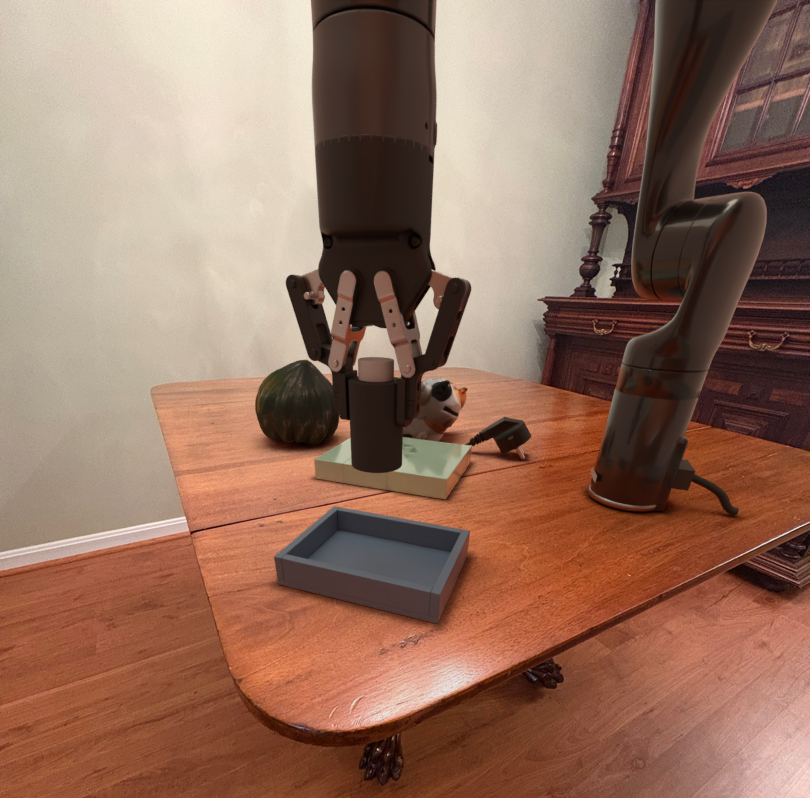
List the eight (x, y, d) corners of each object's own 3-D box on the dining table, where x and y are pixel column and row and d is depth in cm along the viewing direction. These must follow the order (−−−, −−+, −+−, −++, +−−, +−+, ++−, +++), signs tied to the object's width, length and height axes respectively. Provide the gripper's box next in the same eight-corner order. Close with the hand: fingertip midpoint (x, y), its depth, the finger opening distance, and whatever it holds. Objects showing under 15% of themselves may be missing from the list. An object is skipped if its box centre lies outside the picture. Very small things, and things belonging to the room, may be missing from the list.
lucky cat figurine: (416, 424, 91) (452, 365, 84) (449, 459, 86) (490, 400, 79) (364, 413, 80) (400, 345, 73) (398, 453, 75) (440, 383, 68)
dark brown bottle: (408, 460, 38) (412, 358, 34) (391, 476, 35) (392, 364, 30) (364, 453, 39) (361, 354, 35) (342, 468, 36) (337, 360, 32)
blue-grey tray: (467, 556, 45) (470, 530, 43) (437, 624, 35) (440, 594, 34) (335, 529, 49) (333, 505, 48) (277, 584, 40) (273, 556, 38)
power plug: (457, 442, 78) (517, 406, 73) (477, 475, 80) (537, 444, 75) (454, 451, 73) (518, 414, 68) (475, 487, 75) (539, 454, 70)
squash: (252, 401, 82) (249, 342, 69) (328, 400, 88) (339, 346, 74) (261, 465, 78) (260, 417, 65) (341, 461, 84) (355, 415, 70)
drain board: (470, 463, 71) (472, 445, 69) (445, 499, 57) (447, 479, 56) (360, 448, 76) (360, 431, 75) (315, 478, 63) (313, 459, 62)
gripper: (241, 137, 26) (276, 422, 34) (475, 115, 22) (449, 444, 30) (306, 169, 32) (322, 404, 40) (497, 157, 28) (470, 420, 36)
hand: (376, 420), depth 35 cm, fingers closed on dark brown bottle, 4 cm apart
